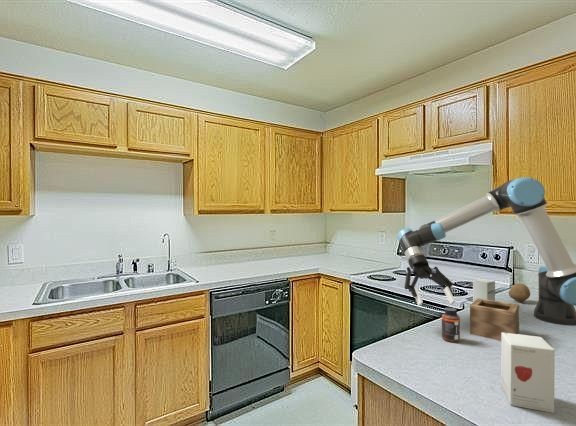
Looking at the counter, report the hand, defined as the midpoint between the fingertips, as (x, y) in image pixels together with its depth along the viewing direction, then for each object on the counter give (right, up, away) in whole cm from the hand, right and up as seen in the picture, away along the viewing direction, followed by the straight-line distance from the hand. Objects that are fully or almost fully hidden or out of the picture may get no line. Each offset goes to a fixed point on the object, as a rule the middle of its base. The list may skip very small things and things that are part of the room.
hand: (437, 303), depth 126 cm
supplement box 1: (+41, -12, +37) cm, 57 cm away
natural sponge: (+63, -12, +42) cm, 76 cm away
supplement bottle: (+2, -12, -7) cm, 14 cm away
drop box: (+22, -11, -1) cm, 25 cm away
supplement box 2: (+1, -12, -45) cm, 47 cm away
